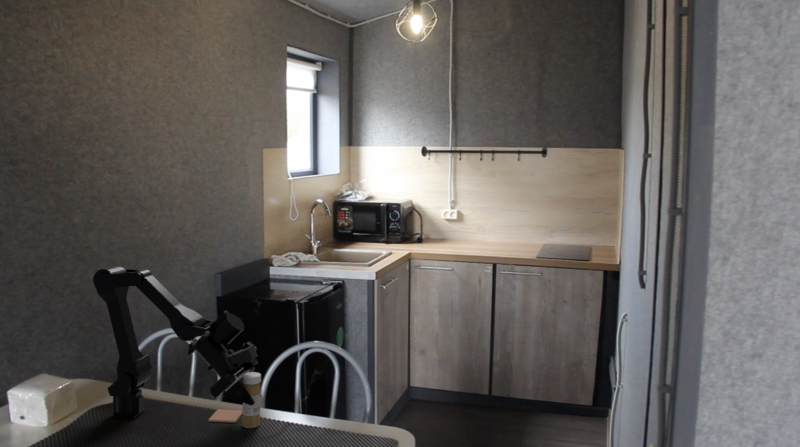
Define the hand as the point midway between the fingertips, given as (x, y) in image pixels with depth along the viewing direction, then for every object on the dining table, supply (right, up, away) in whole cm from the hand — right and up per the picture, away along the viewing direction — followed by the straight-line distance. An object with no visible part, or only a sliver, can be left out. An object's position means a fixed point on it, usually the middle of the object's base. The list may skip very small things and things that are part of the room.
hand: (256, 400), depth 152 cm
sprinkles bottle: (-2, -7, +1) cm, 7 cm away
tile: (-9, -6, +5) cm, 12 cm away
